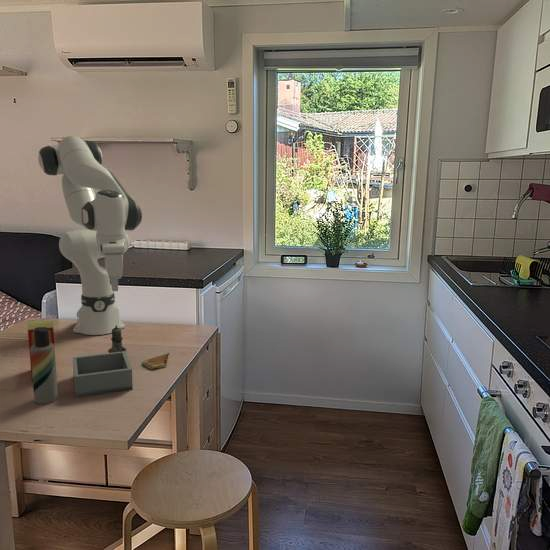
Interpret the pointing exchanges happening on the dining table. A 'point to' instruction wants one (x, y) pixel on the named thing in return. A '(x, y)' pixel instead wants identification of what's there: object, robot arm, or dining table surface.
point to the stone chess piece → (116, 341)
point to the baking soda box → (35, 324)
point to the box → (102, 373)
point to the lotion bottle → (43, 367)
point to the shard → (156, 361)
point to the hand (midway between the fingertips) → (113, 287)
